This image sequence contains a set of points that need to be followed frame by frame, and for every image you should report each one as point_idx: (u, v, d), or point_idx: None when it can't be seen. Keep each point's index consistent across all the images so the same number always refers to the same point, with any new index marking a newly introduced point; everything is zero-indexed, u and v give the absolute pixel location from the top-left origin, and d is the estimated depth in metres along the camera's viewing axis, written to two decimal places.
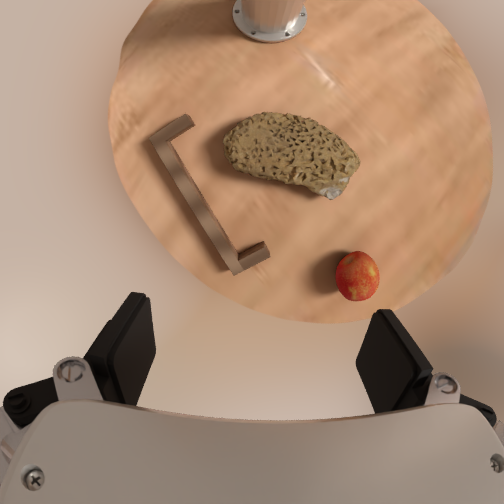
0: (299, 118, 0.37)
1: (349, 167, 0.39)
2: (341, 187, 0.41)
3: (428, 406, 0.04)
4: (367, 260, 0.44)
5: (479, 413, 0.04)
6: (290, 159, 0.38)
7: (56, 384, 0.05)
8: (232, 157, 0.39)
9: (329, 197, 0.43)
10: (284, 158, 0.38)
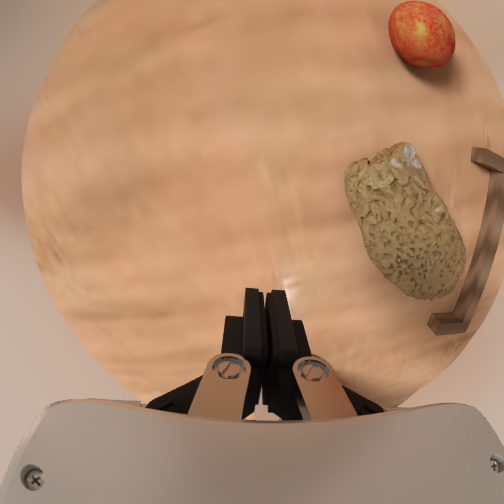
0: (388, 271, 0.27)
1: (383, 177, 0.23)
2: (401, 154, 0.23)
3: (428, 406, 0.04)
4: (415, 44, 0.17)
5: (479, 413, 0.04)
6: (438, 238, 0.24)
7: (221, 383, 0.07)
8: (462, 270, 0.27)
9: (414, 150, 0.24)
10: (440, 242, 0.24)
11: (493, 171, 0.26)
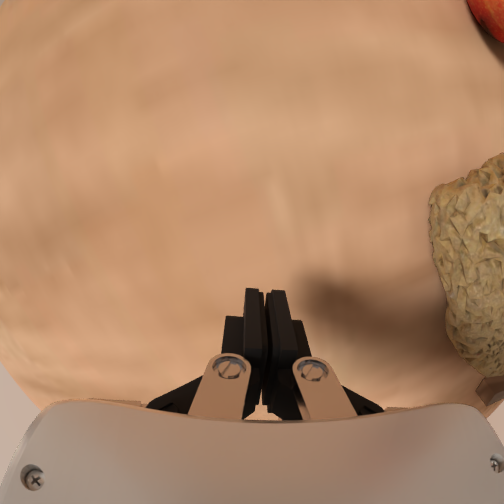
0: (472, 356, 0.14)
1: None
2: None
3: (428, 406, 0.04)
4: None
5: (479, 413, 0.04)
6: None
7: (221, 383, 0.07)
8: None
9: None
10: None
11: None
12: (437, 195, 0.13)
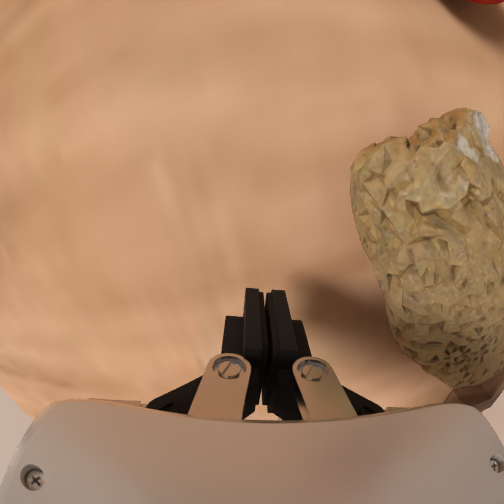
0: (426, 363, 0.13)
1: (447, 181, 0.08)
2: (474, 130, 0.08)
3: (428, 406, 0.04)
4: None
5: (479, 413, 0.04)
6: None
7: (221, 383, 0.07)
8: None
9: (486, 124, 0.09)
10: None
11: None
12: None
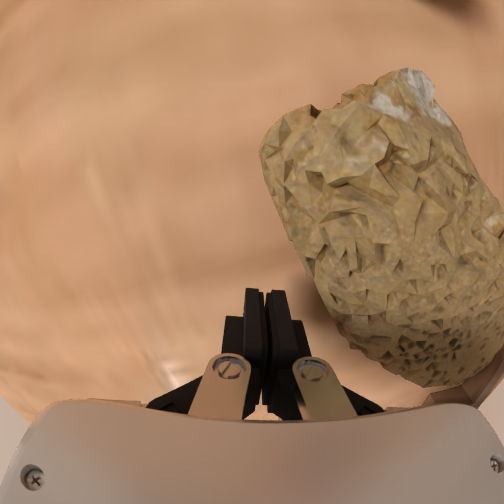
0: (380, 360, 0.12)
1: (357, 144, 0.08)
2: (402, 87, 0.08)
3: (428, 406, 0.04)
4: None
5: (479, 413, 0.04)
6: (492, 288, 0.09)
7: (221, 383, 0.07)
8: None
9: (430, 84, 0.08)
10: (494, 296, 0.09)
11: None
12: None
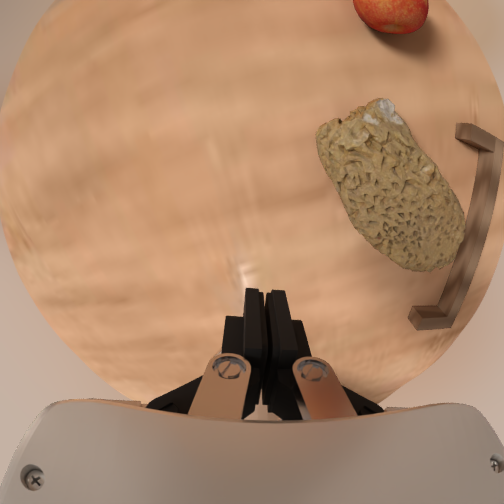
0: (376, 242, 0.25)
1: (357, 134, 0.20)
2: (376, 110, 0.20)
3: (428, 406, 0.04)
4: (378, 7, 0.15)
5: (479, 413, 0.04)
6: (430, 200, 0.21)
7: (221, 383, 0.07)
8: (463, 237, 0.24)
9: (392, 105, 0.20)
10: (433, 205, 0.22)
11: (482, 150, 0.24)
12: None
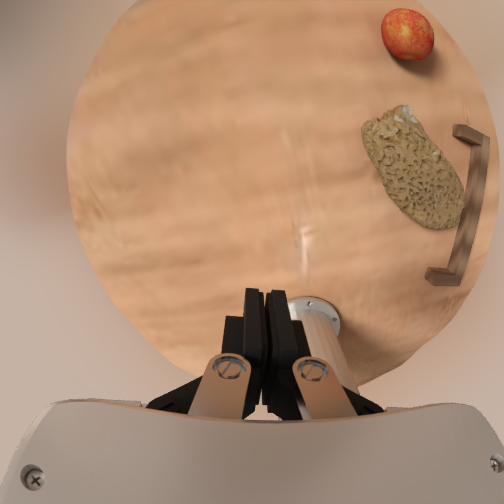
0: (405, 204, 0.33)
1: (390, 128, 0.28)
2: (401, 112, 0.28)
3: (428, 406, 0.04)
4: (401, 42, 0.24)
5: (479, 413, 0.04)
6: (439, 174, 0.30)
7: (221, 383, 0.07)
8: (464, 204, 0.32)
9: (410, 109, 0.29)
10: (441, 178, 0.30)
11: (473, 145, 0.33)
12: None
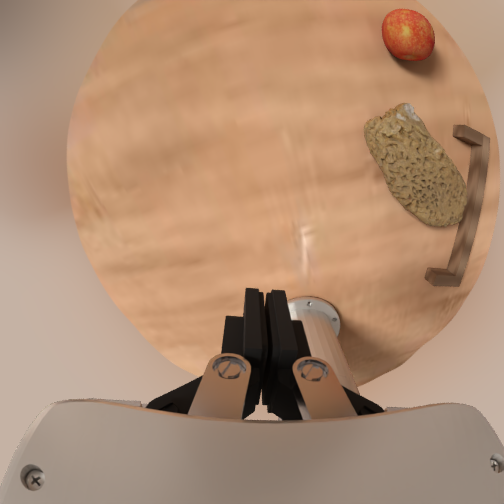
0: (408, 202, 0.33)
1: (393, 126, 0.28)
2: (403, 110, 0.28)
3: (428, 406, 0.04)
4: (401, 43, 0.24)
5: (479, 413, 0.04)
6: (441, 171, 0.29)
7: (221, 383, 0.07)
8: (466, 201, 0.32)
9: (412, 107, 0.29)
10: (444, 175, 0.30)
11: (473, 145, 0.33)
12: None
